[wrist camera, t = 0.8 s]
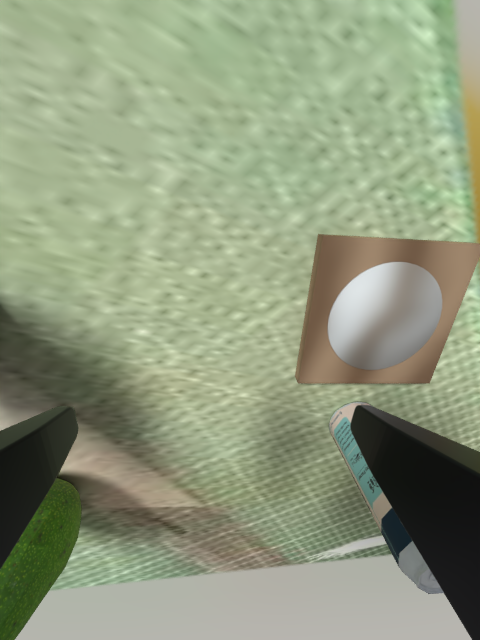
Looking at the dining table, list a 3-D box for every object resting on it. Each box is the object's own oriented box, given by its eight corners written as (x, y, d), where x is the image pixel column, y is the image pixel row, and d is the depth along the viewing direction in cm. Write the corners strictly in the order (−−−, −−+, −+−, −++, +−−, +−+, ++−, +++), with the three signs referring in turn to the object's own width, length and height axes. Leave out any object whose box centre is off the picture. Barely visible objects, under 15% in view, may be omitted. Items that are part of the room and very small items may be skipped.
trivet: (295, 376, 23) (299, 384, 22) (318, 234, 19) (324, 235, 18) (421, 376, 24) (431, 384, 23) (472, 242, 20) (487, 244, 19)
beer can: (374, 430, 26) (487, 588, 15) (328, 440, 27) (407, 604, 15) (374, 393, 25) (502, 541, 14) (325, 404, 25) (412, 560, 14)
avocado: (114, 493, 27) (42, 689, 16) (49, 518, 28) (-63, 722, 17) (64, 443, 24) (-68, 640, 13) (-8, 472, 25) (-191, 684, 14)
